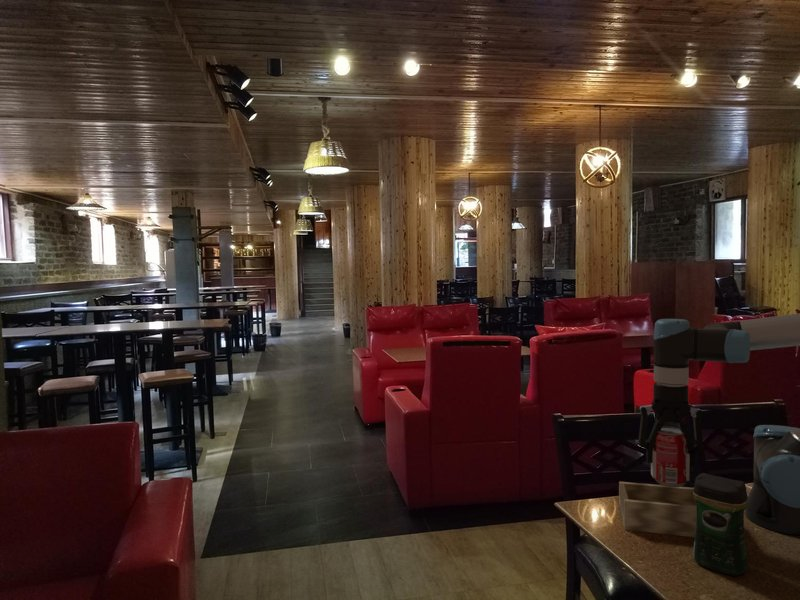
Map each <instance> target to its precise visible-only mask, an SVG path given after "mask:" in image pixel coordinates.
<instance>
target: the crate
mask: <svg viewBox="0 0 800 600" xmlns="http://www.w3.org/2000/svg"><path fill="white" fill-rule="evenodd" d="M618 484H619V485H618V498H619V499H618V501H619V502H618V503H619V504H618V507H619V513H620V517H621V521H622V524H623V529H624V530H626V531H633V532H634V531H635V532H643V533H650V534H651V533H652V534H660V535H661V534H662V535H669V534H670V535H669V536H671V535H673V536H680V537H681V536H682V537H689V538H695V531H696V520H697V507H696V502H695V499H694V496H693V490H694V487H687V486H682V487H667V486H663V485H661V484H652V483H638V482H631V481H630V482H628V481H619V482H618Z"/></svg>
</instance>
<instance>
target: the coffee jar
mask: <svg viewBox="0 0 800 600" xmlns="http://www.w3.org/2000/svg"><path fill="white" fill-rule="evenodd" d="M693 486H694V487H693V488H694V490H693V496H694V499H695V502H696V507H697V520H696V531H695V537H694V540H693V541H694V542H693V549H692V550H693V552H692V553H693V554H692V555H693V559H694V561H695V562H696V563H697V564H698V565H700V566H702V567H704V568H707V569H710V570H712V571H716V572H719V573H723V574H726V575H728V576H729V575H730V576H739V575H743V574H745V572H746V571H747V569H748V566H749V564H748V563H749V561H748V552H747V551H748V549H747V542H746V533H745V520H744V519H745V508H746V506H747V503H748V496H749V495H748V491H747V485H746V483H745V482H744V481H743V480H736V479H732V478H728V477H723V476H719V475H715V474H708V473H705V472H702V473H700V474H698V475H697V476H696V477H695V480H694V485H693Z"/></svg>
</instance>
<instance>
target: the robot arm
mask: <svg viewBox="0 0 800 600" xmlns="http://www.w3.org/2000/svg"><path fill="white" fill-rule="evenodd" d="M798 346H800V313H792V314H784V315H782V314H781V315H775V316H768V317H760V318H759V317H758V318H752V319H744V320H738V321H730V322H720V321H717V322H712V323H709V324H708V325H705V327H704V328H695V327H691V325H690V321H689V320H688V319H682V318H661V319H658V320H656V322H655V323H654V334H653V381H654V383H653V395H652V396H653V399H652V402H651V404H649V405H643V404H641V405H640V406H639V411H640V422H639V423H640V424H639V432H638V433H639V434H638V441H637V442H638V444H639V446H640V448H644V449H646V461H647V464H650V475H651V476H652V478H653V479H654V478H656V451H655V450H654V446H655V443H656V437H657V435H658V433H659V432H660V431H661V428H662V427H664V424H665V423H675V424H677V425H678V427H679V429H680V431H681V432H682V433H684V436H685V438H686V444H687V453H686V482H689V481H690V467H694V466H695V455H696V453H699V452H700V453H702V452H704V439H703V431H702V430H703V429H702V428H703V427H702V419H703V418H702V417H703V415H704V412H703V411H702V410H701V408H698V407H696V408H695V407H692V406H691V405H690V404H689V388H690V387H689V386H688V384H689V383H690V382H689V380H690V378H689V376H690V373H689V372H690V369H689V368H690V361H702V362H703V361H705V362H715V363H718V362H719V363H729V364H733V363H734V364H735V363H736V364H738V363H739V364H741V363H742V364H745V363H747V362H749V360H750V357H751V356H750V354H751V351H758V350H767V349H777V348H778V349H779V348H789V347H798ZM651 411H653V412H654V413H655V415H656V418H655V421H654V424H653V425H652V428H651V432H650V434H649V437H648V439H647V432H648V424H649V423H648V422H649V415H650V414H651ZM689 413H690V415H691V417H692V424H693V434H694V444H693V442H692V439H691V437H690V434H689V431H688V428H687V425H686V422H685V417H687V416H688V414H689ZM753 430H754V433H753V437H752V438H753V485H752V487H751V490H750V492H749V494H748V495H747V496H748V503H747V506H746V508H745V510H744V516H745V517H746V518H747V519H748V520H749V521H751V522H752V523H754V524H756V525H758V526H761V527H762V528H764V529H766V530H767V529H768V530H771V531H774V532H778V533H782V534H786V535H787V534H788V535H796V536H800V428H799V427H792V426H787V425H778V424H777V425H776V424H759V425H756V426H755V428H754V429H753ZM658 431H659V432H658ZM646 439H647V441H646Z"/></svg>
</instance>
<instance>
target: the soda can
mask: <svg viewBox="0 0 800 600" xmlns="http://www.w3.org/2000/svg"><path fill="white" fill-rule="evenodd" d="M658 432H659V431H658ZM654 450H655V451H656V478H653V479H654V480H655V481H656V483H658V485H663V486H667V487H684V486H685V484H687V481H686V453H687V444H686V438H685V436H684V433H682V432H681V431H680V428H678V427H674V426H662V428H661V431H660V432H659V433H658V435H657V437H656V443H655V446H654Z"/></svg>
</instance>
